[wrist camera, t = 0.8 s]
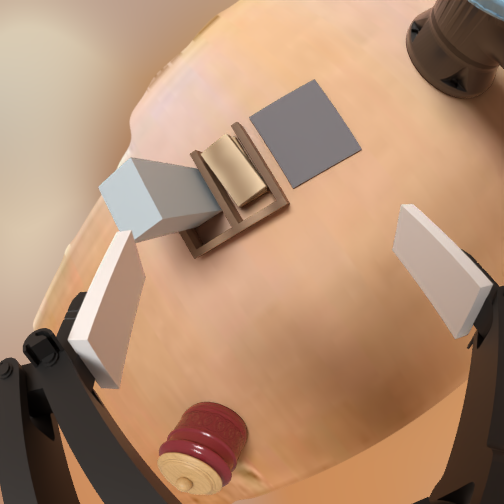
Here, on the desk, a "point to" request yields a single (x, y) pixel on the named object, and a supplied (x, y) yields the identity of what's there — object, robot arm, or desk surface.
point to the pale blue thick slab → (157, 198)
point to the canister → (203, 449)
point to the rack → (225, 201)
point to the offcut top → (234, 170)
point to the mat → (305, 133)
